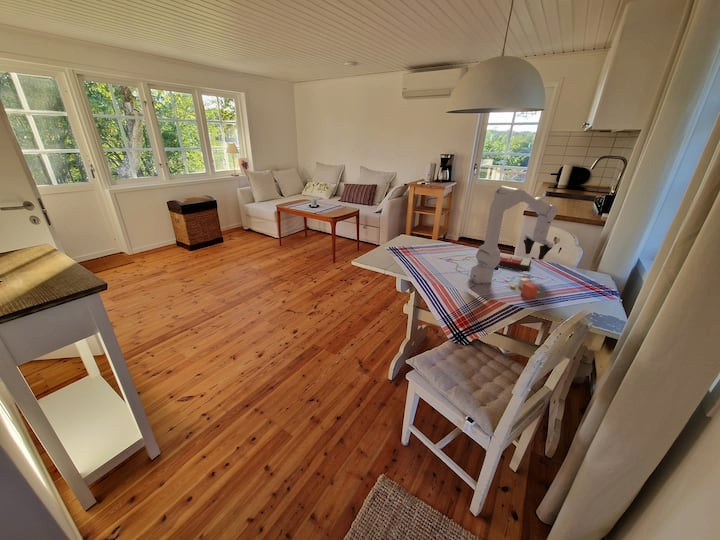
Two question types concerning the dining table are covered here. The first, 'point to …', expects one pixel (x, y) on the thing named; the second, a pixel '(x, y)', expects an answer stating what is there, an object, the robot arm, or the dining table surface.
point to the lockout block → (529, 290)
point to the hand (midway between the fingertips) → (533, 256)
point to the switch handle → (523, 281)
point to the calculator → (515, 263)
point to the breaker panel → (518, 290)
